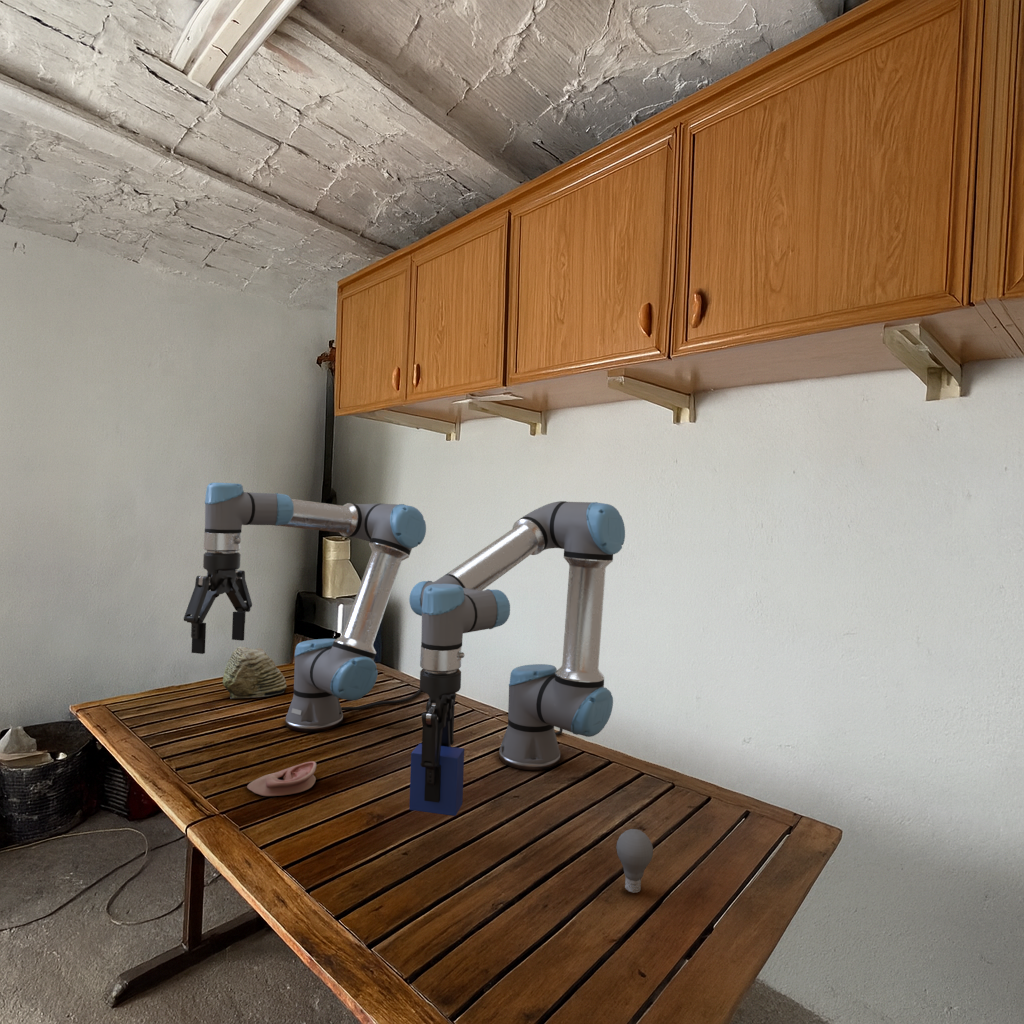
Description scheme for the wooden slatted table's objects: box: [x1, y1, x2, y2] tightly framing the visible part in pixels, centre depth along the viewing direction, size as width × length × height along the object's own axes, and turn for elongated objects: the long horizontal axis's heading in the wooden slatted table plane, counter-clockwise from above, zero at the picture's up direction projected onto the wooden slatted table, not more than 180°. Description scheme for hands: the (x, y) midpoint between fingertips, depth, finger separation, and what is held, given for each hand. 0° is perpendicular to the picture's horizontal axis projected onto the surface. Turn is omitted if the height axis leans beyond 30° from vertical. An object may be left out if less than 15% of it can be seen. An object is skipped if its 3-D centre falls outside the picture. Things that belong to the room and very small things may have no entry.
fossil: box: [222, 646, 288, 699], centre depth 198 cm, size 9×18×15 cm, turn 132°
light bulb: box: [615, 828, 654, 894], centre depth 106 cm, size 6×6×10 cm
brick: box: [408, 742, 465, 817], centre depth 117 cm, size 9×5×11 cm, turn 79°
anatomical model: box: [246, 760, 317, 797], centre depth 138 cm, size 13×4×12 cm
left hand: (219, 646), depth 142 cm, fingers open, 13 cm apart
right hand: (436, 793), depth 117 cm, fingers closed on brick, 5 cm apart
